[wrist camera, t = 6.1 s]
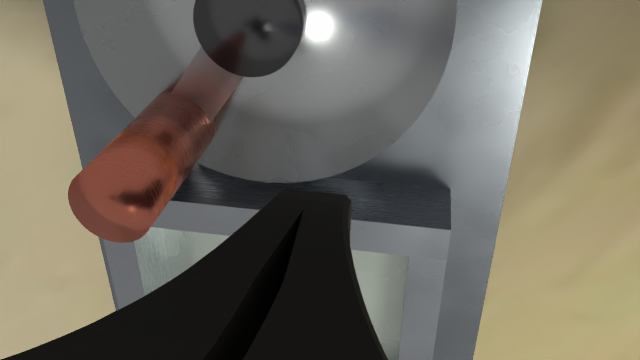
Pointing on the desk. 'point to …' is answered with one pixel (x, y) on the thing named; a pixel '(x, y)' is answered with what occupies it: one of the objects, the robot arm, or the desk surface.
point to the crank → (251, 93)
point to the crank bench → (356, 187)
